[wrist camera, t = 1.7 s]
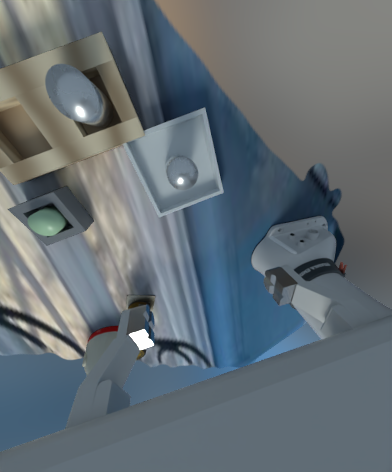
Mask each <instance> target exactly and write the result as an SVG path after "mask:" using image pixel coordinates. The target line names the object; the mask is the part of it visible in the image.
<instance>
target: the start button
mask: <svg viewBox="0 0 392 472" xmlns="http://www.w3.org/2000/svg"><path fill="white" fill-rule="evenodd" d="M68 222H69V221H68V220H67V219H66V218H65V217H64V215H63V214H62V213H61V212H60V211H59V210H58V209H57V208H56V207H54V206H47V207H45V208H43V209H41V210H39V211H37V212H36V213H34V214H32V215H30V216H29V218H28V225H29V227H30V228H31V229H32V230H33V231H34V232H36V233H38V234H40V235H43V236H53V235H55V234H57V233H58V232H59V231H60V230H61V229H63V228H64V227H65V226H66V225H67V224H68Z"/></svg>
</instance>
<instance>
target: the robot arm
mask: <svg viewBox="0 0 392 472" xmlns="http://www.w3.org/2000/svg"><path fill="white" fill-rule="evenodd" d="M335 250H336V240H335V237H334V236H333V235H332V234H331V233H330V232H329V231H328V225H327V221H326V219H325V218H324V217H323V216H316V217H312V218H307V219H302V220H298V221H293V222H288V223H284V224H279V225H275V226H272V227H271V228H270V230H269V231H268V233H267V235H266V237H265V238H264V239H263V240H262V241H261V242H260V243H259V244H258V246H257V247H256V248H255V250H254V252H253V255H252V265H253V267H254V268H255V269H256V270H257V271H259V272H260V273H262V274H263V275H264V276H265V278H264V285H265V287H266V289H267V290H268V292H269V293H271V294H273V298H274V300H275V301H276V302H277V304H278V305H279V306H281V305H284V304H288V303H289V304H290V305H291V307H292V308H294V309H296V310H297V311H298V312H299V313H300V314H301V316H302V317H303V318H304V319H305V320H306V321H307V323H308V324H309V325H310V326H311V327H312V329H313V330H314V331H315V332H316V333H317V335H318V336H319V337H320V338H321V340H319V341H316V342H313V343H310V344H307V345H304V346H301V347H299V348H296V349H293V350H290V351H287V352H284V353H281V354H279V355H276V356H273V357H270V358H267V359H264V360H261V361H259V362H256V363H253V364H250V365H247V366H244V367H241V368H239V369H236V370H233V371H230V372H227V373H224V374H221V375H219V376H216V377H213V378H210V379H207V380H204V381H201V382H199V383H196V384H193V385H190V386H187V387H184V388H181V389H179V390H176V391H173V392H170V393H167V394H164V395H162V396H159V397H156V398H153V399H150V400H147V401H144V402H142V403H139V404H136V405H133V406H130V395H129V394H128V393H127V392H125V391H124V390H123V389H122V388H123V386H124V384H125V382H126V380H127V377H128V376H129V373H130V371H131V369H132V367H133V365H134V363H135V361H136V359H137V357H138V355H139V353H140V350H141V349H144V348H147V347H150V346H153V345H154V332H153V328H154V316H153V313H152V311H149V309H150V307H149V305H148V304H147V305H143V306H139V307H135V308H131V309H127V310H124V311H123V312H122V313H121V318H120V323H119V327H118V332H117V337H116V339H114V340H113V341H112V342H111V344H110V345H109V346H108V348H107V349H106V351H105V352H104V353H103V355H102V356H101V357H100V359H99V360H98V362H97V363H96V364H95V366H94V367H93V369H92V370H91V371H90V373H89V374H88V375H87V377H86V378H85V380H84V381H83V382H82V384H81V385H80V387H79V388H78V391H77V394H76V397H75V400H74V403H73V406H72V409H71V412H70V415H69V419H68V422H67V425H66V428H65V429H64V430H62V431H59V432H56V433H53V434H50V435H47V436H44V437H42V438H39V439H36V440H33V441H30V442H27V443H25V444H22V445H19V446H16V447H13V448H10V449H8V450H5V451H2V452H0V472H392V309H390V308H388V307H386V306H385V305H383V304H382V303H380V302H378V301H377V300H376V299H374V298H373V297H371V296H370V295H368V294H367V293H365V292H364V291H362V290H361V289H359V288H358V287H356V286H355V285H353V284H352V283H351V282H349V281H348V280H346V279H345V278H344V277H345V273H344V272H345V269H346V265H345V266H344V268H343V263H342V262H341V263H340V266H339V268H338V267H337V266H336V265H335V263H334V256H335Z"/></svg>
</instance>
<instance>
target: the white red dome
mask: <svg viewBox="0 0 392 472" xmlns="http://www.w3.org/2000/svg"><path fill="white" fill-rule="evenodd" d="M118 327H119V326H110V327H105V328H102V329H99V330H97V331H95V332H94V333H93V334H92V335H91V336H90V338H89V340H88V343H87V347H86V353H85V354H84V360H83V365H82V366H84V368H85V372H86V374H87V375H88V374H89V373H90V371H91V370H92V369H93V367H94V366H95V364H96V363H97V362H98V360H99V359H100V357H101V356H102V355H103V353H104V352H105V351H106V349H107V348H108V346H109V345H110V344H111V342H112V341H113V340H114V339H116V337H117V332H118Z"/></svg>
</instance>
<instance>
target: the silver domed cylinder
mask: <svg viewBox="0 0 392 472" xmlns="http://www.w3.org/2000/svg"><path fill="white" fill-rule="evenodd" d="M45 85H46V90H47V93H48V96H49V98H50V100H51V102H52V103H53V105H54V106H55V107H56V108H57V109H58V110H59V111H60V112H61V113H62V114H63V115H65V116H66V117H68V118H70V119H72V120H75V121H78V122H82V123H85V124H89V125H92V126H96V127H105V126H107V125H109V124H110V122H111V121H112V118H113V108H112V105H111V103H110V101H109V99H108V98H107V96H106V95H105V94H104V93H103V92H102V91H101V90H100V89H99V88H98V87H96V86H95V85H94V84H93V83H92V82H91V81H90V80H89V79H88V78H87V77H86V76H85V75H84V74H83V73H81V72H80V71H79V70H78V69H76V68H74V67H73V66H70V65H67V64H56V65H54V66H52V67H51V68H50V69H49V70H48V72H47V74H46V78H45Z"/></svg>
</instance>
